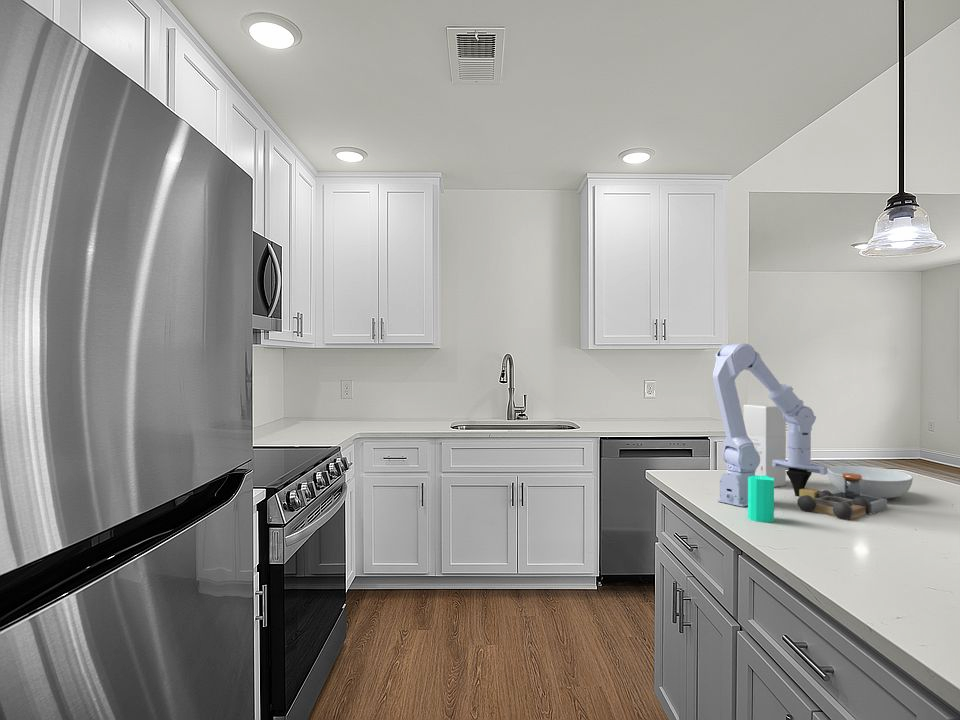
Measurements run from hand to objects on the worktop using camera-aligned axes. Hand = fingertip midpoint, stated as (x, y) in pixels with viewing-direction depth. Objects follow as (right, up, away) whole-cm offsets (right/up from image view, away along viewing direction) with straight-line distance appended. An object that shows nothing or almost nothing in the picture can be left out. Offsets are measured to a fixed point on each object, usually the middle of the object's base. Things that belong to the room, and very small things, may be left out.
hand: (798, 495), depth 170 cm
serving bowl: (+23, -1, +5) cm, 24 cm away
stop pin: (+11, -1, -7) cm, 13 cm away
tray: (+11, -1, -7) cm, 13 cm away
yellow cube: (+2, -1, -3) cm, 3 cm away
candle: (-20, -2, -19) cm, 27 cm away
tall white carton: (0, -1, +21) cm, 21 cm away
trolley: (+2, -1, -12) cm, 13 cm away
